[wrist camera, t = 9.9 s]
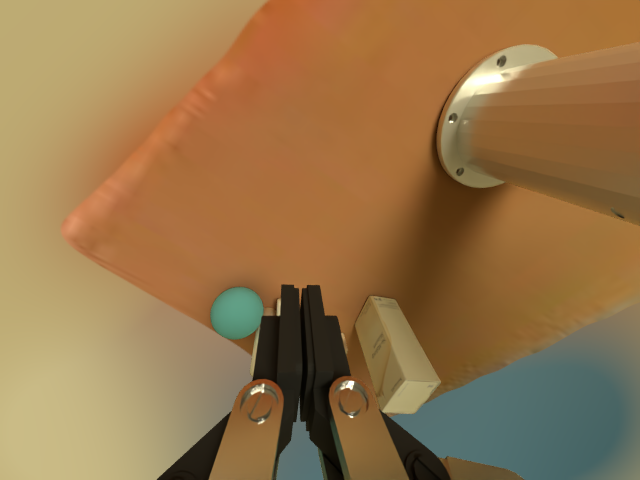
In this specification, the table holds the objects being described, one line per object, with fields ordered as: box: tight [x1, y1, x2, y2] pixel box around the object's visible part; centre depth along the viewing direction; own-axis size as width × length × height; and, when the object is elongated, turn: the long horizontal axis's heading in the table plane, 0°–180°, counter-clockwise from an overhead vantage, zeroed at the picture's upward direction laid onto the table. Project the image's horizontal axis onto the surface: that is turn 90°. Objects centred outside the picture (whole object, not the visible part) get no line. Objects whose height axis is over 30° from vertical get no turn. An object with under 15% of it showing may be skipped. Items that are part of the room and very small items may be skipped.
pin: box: [250, 307, 276, 377], centre depth 30 cm, size 2×2×8 cm
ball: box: [210, 287, 264, 339], centre depth 29 cm, size 6×6×6 cm
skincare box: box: [355, 296, 441, 414], centre depth 30 cm, size 6×4×12 cm
